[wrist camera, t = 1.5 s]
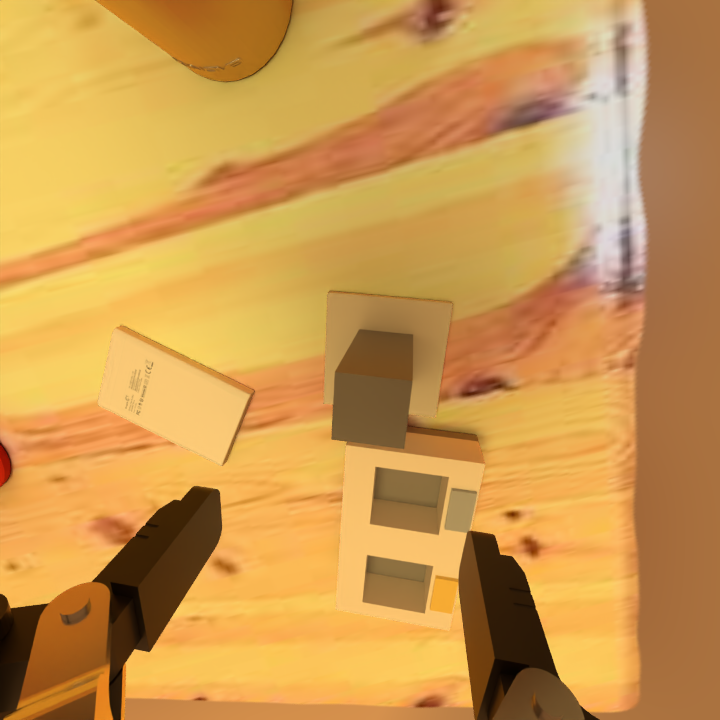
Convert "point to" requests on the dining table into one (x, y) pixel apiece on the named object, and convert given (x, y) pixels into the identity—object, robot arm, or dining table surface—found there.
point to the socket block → (407, 525)
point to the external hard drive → (172, 395)
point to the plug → (374, 389)
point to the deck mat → (397, 317)
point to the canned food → (4, 466)
